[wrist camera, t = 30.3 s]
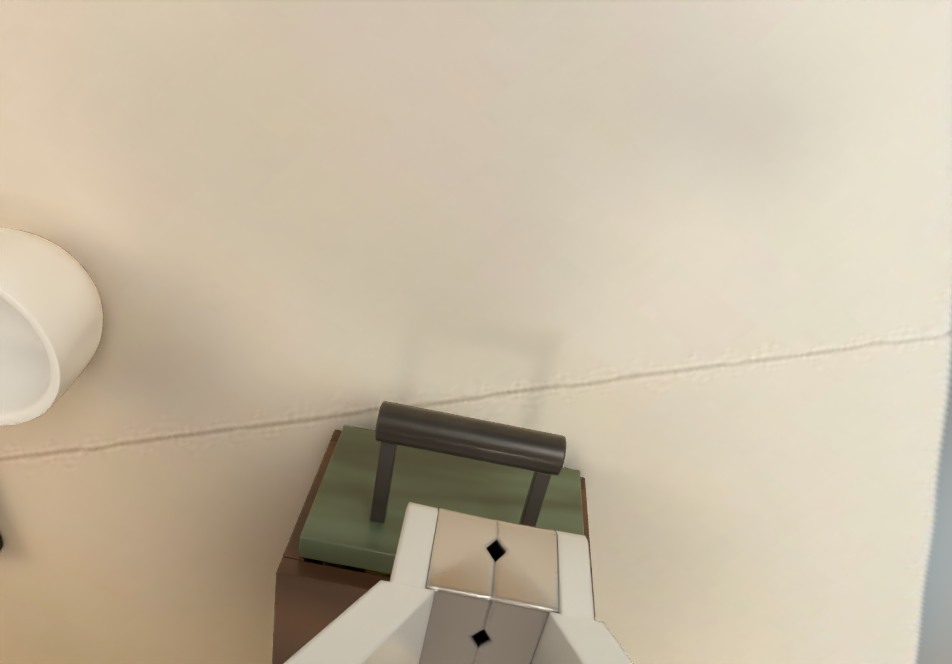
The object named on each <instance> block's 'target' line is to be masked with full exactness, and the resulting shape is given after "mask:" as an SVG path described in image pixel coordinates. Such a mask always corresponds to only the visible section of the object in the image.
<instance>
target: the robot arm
mask: <svg viewBox="0 0 952 664" xmlns="http://www.w3.org/2000/svg"><path fill="white" fill-rule="evenodd" d="M283 664H633V662H632V661H631V659H630V658H629V657H628V655H627V654H626V653H625V651H624V650H623V648H622V647H621V646H620V644H619V643H618V642H617V640H616V639H615V637H614V636H613V635H612V633H611V632H610V630H609V629H608V628H607V626H606V625H605V624H604V622H600V621H596V620H595V619H594V607H593V595H592V583H591V570H590V558H589V546H588V540H587V538H586V536H583V535H578V534H572V533H567V532H561V531H554V530H550V529H545V528H539V527H534V526H528V525H523V524H517V523H512V522H506V521H501V520H493V519H488V518H484V517H479V516H474V515H470V514H465V513H461V512H456V511H451V510H447V509H442V508H439V512H438V508H435V507H430V506H425V505H421V504H416V503H412V502H409V504H408V506H407V509H406V512H405V517H404V521H403V525H402V530H401V534H400V538H399V543H398V547H397V552H396V556H395V560H394V565H393V569H392V573H391V578H390V582H389V581H383V580H380V581H379V582H378V583H377V584H376V585H374V586H373V587H372V588H371V589H370V590H369V591H367V592H366V593H365V594H364V595H363V596H362V597H360V598H359V599H358V600H357V601H356V602H355V603H353V604H352V605H351V606H350V607H349V608H348V609H346V610H345V611H344V612H343V613H342V614H341V615H339V616H338V617H337V618H336V619H335V620H334V621H332V622H331V623H330V624H329V625H328V626H327V627H325V628H324V629H323V630H322V631H321V632H320V633H318V634H317V635H316V636H315V637H314V638H313V639H311V640H310V641H309V642H308V643H307V644H306V645H304V646H303V647H302V648H301V649H300V650H299V651H297V652H296V653H295V654H294V655H293V656H292V657H290V658H289V659H288V660H287V661H286V662H285V663H283Z"/></svg>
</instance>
